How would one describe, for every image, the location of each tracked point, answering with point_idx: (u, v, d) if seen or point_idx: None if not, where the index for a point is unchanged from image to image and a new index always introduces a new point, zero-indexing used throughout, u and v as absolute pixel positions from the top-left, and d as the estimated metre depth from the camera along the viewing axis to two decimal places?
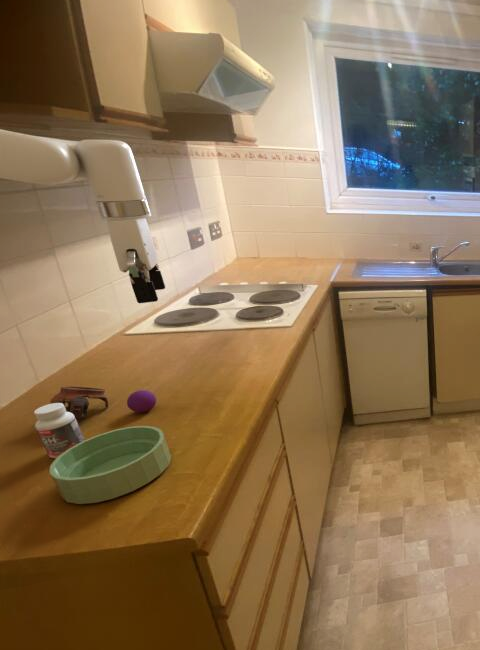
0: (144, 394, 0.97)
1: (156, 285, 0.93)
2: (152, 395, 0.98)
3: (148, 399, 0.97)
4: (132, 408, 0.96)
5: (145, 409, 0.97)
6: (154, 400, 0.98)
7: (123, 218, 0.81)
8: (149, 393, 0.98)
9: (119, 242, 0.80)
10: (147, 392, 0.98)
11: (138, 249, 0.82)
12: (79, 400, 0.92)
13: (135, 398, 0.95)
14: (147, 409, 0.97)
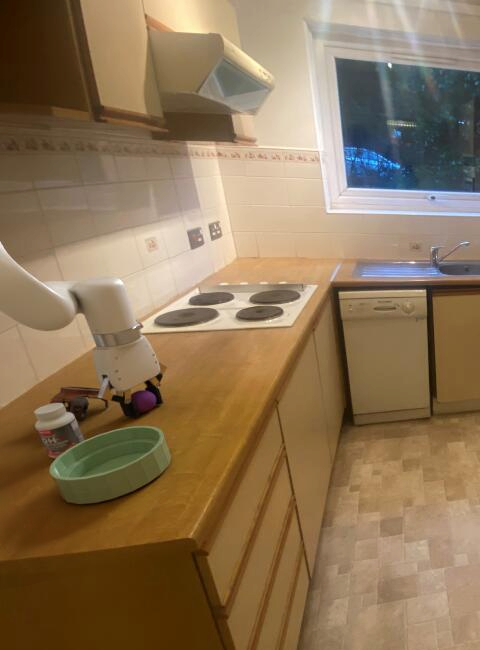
0: (144, 395, 0.97)
1: None
2: (152, 395, 0.98)
3: (148, 400, 0.97)
4: None
5: (145, 409, 0.97)
6: (154, 400, 0.98)
7: (102, 348, 0.89)
8: (149, 393, 0.98)
9: (97, 368, 0.89)
10: (147, 392, 0.98)
11: (109, 375, 0.90)
12: (79, 400, 0.92)
13: (135, 398, 0.95)
14: (147, 409, 0.97)
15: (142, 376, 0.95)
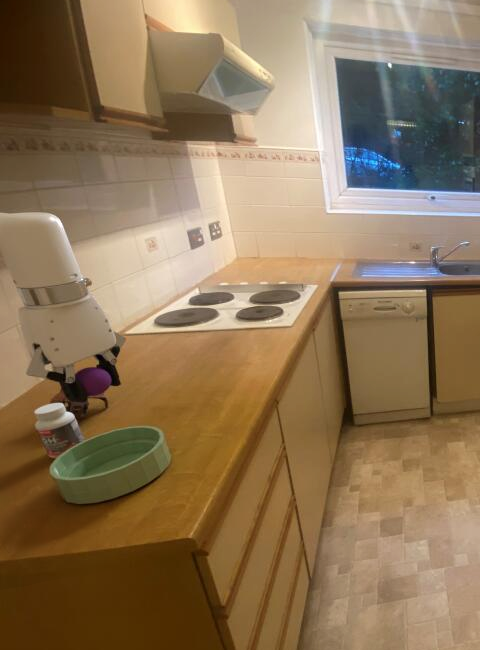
0: (94, 372, 0.74)
1: None
2: (105, 373, 0.75)
3: (100, 379, 0.74)
4: None
5: (96, 391, 0.74)
6: (108, 380, 0.76)
7: (31, 307, 0.66)
8: (101, 371, 0.75)
9: (25, 334, 0.67)
10: (99, 369, 0.75)
11: (42, 344, 0.67)
12: None
13: (82, 377, 0.73)
14: (99, 392, 0.75)
15: (90, 348, 0.73)
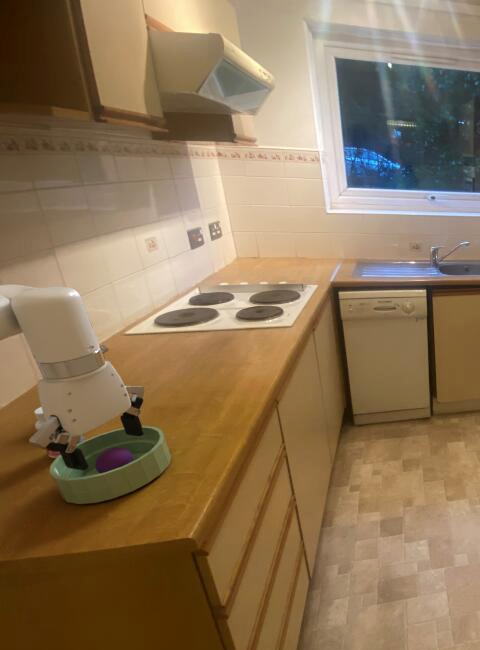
0: (117, 454, 0.76)
1: (133, 431, 0.80)
2: (128, 454, 0.78)
3: (122, 460, 0.77)
4: (101, 472, 0.75)
5: None
6: (130, 460, 0.78)
7: (50, 380, 0.67)
8: (124, 452, 0.78)
9: (44, 406, 0.68)
10: (121, 450, 0.77)
11: (60, 416, 0.68)
12: None
13: (106, 460, 0.75)
14: None
15: (106, 414, 0.74)
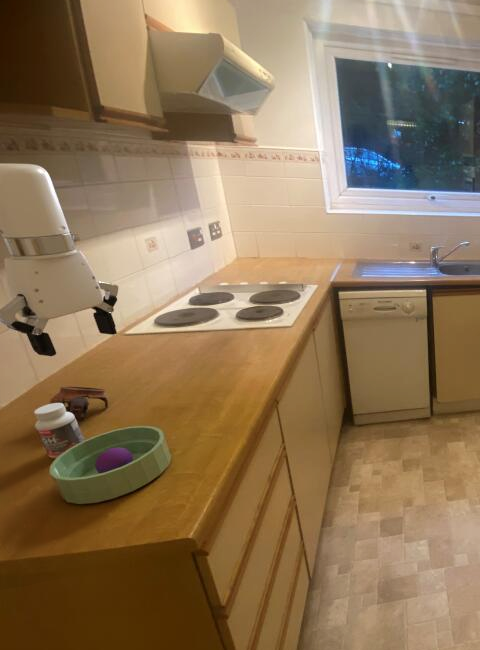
0: (117, 455, 0.76)
1: (105, 329, 0.80)
2: (127, 454, 0.78)
3: (122, 461, 0.77)
4: None
5: None
6: (130, 460, 0.78)
7: (16, 257, 0.67)
8: (124, 452, 0.78)
9: (10, 285, 0.67)
10: (121, 451, 0.77)
11: (26, 295, 0.67)
12: (79, 400, 0.91)
13: (106, 461, 0.75)
14: None
15: (76, 303, 0.73)
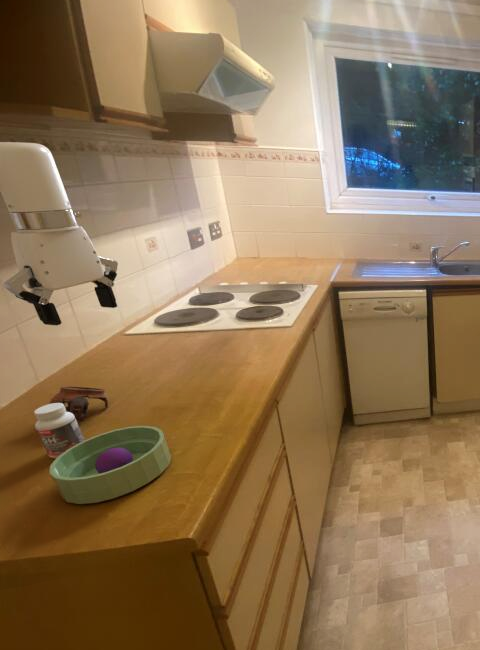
0: (117, 455, 0.76)
1: (106, 302, 0.84)
2: (127, 454, 0.78)
3: (122, 461, 0.77)
4: None
5: None
6: (130, 460, 0.78)
7: (23, 231, 0.71)
8: (123, 452, 0.77)
9: (17, 257, 0.72)
10: (121, 451, 0.77)
11: (33, 267, 0.72)
12: (79, 400, 0.91)
13: (105, 461, 0.75)
14: None
15: (79, 275, 0.78)
